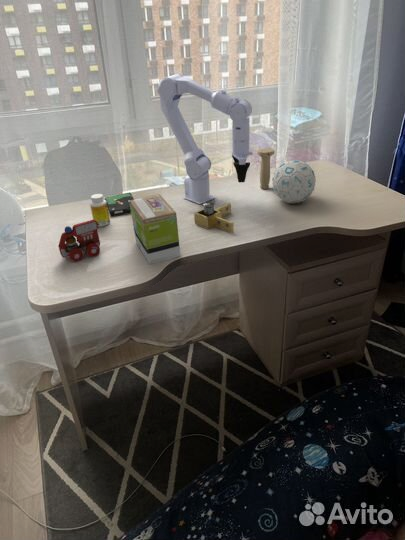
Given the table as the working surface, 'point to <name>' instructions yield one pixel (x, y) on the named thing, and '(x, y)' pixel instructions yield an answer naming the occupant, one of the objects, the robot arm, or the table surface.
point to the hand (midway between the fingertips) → (240, 178)
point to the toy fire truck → (80, 241)
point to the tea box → (155, 228)
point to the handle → (265, 166)
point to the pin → (208, 208)
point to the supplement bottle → (99, 210)
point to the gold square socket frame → (215, 219)
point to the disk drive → (119, 204)
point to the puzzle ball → (294, 181)
